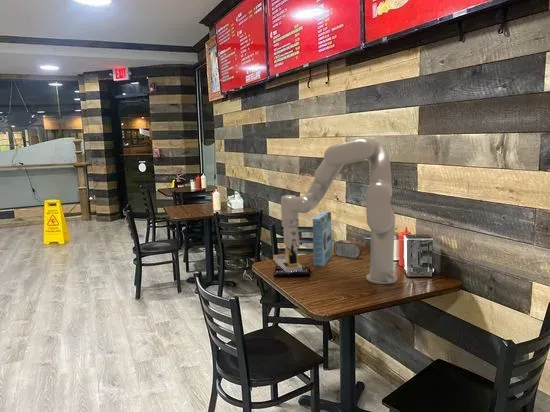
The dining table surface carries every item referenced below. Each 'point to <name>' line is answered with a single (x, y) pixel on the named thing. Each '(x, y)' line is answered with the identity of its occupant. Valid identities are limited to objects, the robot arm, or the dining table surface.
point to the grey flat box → (281, 262)
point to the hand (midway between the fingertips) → (291, 261)
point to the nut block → (287, 253)
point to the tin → (348, 249)
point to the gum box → (322, 239)
